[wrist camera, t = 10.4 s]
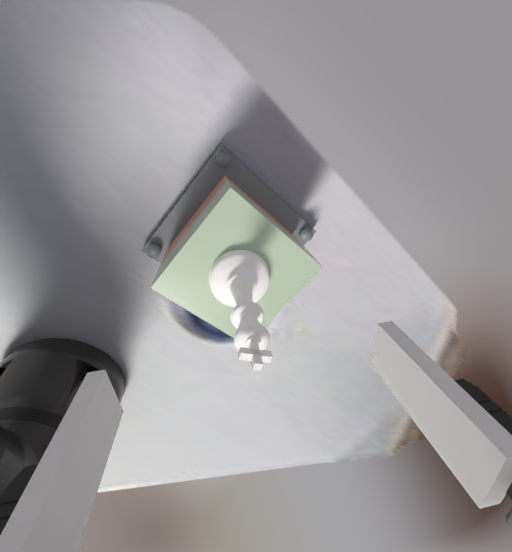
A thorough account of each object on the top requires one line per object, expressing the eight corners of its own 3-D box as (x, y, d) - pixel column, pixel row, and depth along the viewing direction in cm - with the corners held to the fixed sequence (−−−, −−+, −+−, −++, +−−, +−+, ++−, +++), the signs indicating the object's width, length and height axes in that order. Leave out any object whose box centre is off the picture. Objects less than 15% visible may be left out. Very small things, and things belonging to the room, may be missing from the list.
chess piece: (216, 243, 21) (220, 317, 12) (276, 257, 22) (321, 334, 13) (202, 298, 23) (196, 398, 14) (258, 308, 24) (287, 406, 15)
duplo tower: (238, 308, 36) (248, 368, 27) (144, 246, 31) (113, 292, 21) (312, 229, 33) (354, 263, 23) (221, 143, 27) (226, 142, 18)
